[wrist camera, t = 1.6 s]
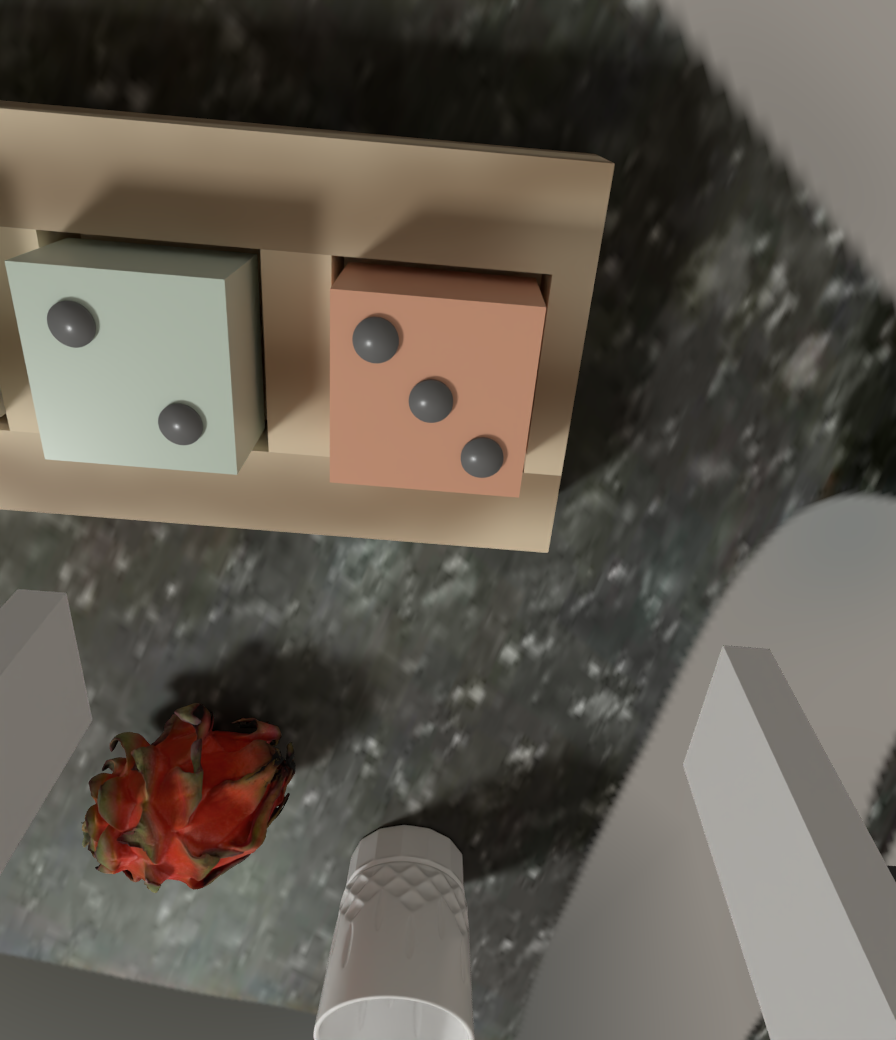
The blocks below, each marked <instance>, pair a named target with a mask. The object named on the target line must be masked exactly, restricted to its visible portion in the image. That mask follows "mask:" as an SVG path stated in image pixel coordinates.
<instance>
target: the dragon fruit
mask: <svg viewBox="0 0 896 1040" xmlns="http://www.w3.org/2000/svg"><path fill="white" fill-rule="evenodd" d="M174 713H175V714H173V715H172V717H171V719H169V720H168V721H167V722H166V724H165V726H164V732H163V733H162V734H161V736H160V737H159V738H158V739H157V740H156V741H155V742H154V743H152V745H150V744H149V743H148V742H147V741H146V740H145V738H144V737H143V736H141V735H140V734H137V733H133V732H126V733H121V734H118V735H117V736H115V737H114V738H113V740H112V741H111V743H110V751H111V752H112V751H113V750H114V748H115V747H116V745H117V743H118V741H120V742H121V745H122V747H123V748H124V749H125V752H126V758H120V757H119V758H114V759H110V760H107V761H106V762H105V764H104V766H103V768H102V771H104V770H106V769H107V768H110V769H111V770H112V771H113V773H112V774H108V773H101V774H98V775H96V776H94V777H93V778H91V780H90V781H89V786H90V791H91V796H92V797H93V798H94V800H95V802H96V804H95V805H93V806H91V807H90V808H89V809H88V811H87V813H86V815H85V821H84V822H83V823H82V822H81V823H82V824H83V826H82V831H83V834H84V839H83V843H82V845H83V847H86V846H87V845H88V844H89V845H88V850H89V851H91V853H92V855H93V857H94V858H96V859H97V861H98V862H99V863H100V865H99V867H95V868H96V869H97V870H98V871H100V872H103V873H107V874H115V873H118V872H120V871H123V872H124V873H125V875H126V876H127V877H128V878H129V879H130V880H131V881H133V882H138V881H140V880H141V879H143V880H144V881H145V883H144V884H145V885H147V888H148V889H150V890H151V891H152V892H154V893H156V892H157V891H158V890H159V888H160V886H161V884H162V883H163V882H164V881H165V880H166V879H173V880H179V881H182V882H184V883H186V884H187V885H188V886H189V887H190V888H192V889H200V888H203V887H205V886H207V885H209V884H210V883H212V882H213V881H214V880H215V879H216V878H217V877H219V876H220V875H222V874H223V873H225V872H226V871H228V870H229V869H231V868H232V867H234V866H235V865H237V864H239V863H241V862H242V861H243V860H245V859H246V858H247V857H248V856H249V855H250V854H251V853H253V852H255V850H256V849H258V848H259V847H260V846H261V845H262V843H263V842H264V840H265V837H266V832H267V830H266V829H267V828H268V827H269V825H270V824H271V823H272V821H273V820H274V819H276V818H277V817H278V815H279V814H280V813H281V811H282V809H283V808H284V806H285V804H286V802H287V800H288V797H289V795H290V794H289V793H288V794H287V795H286V796H285V797H284V794H285V791H286V787H287V784H288V783H289V782H290V780H291V779H292V777H293V776H294V774H295V762H294V760H293V758H294V749H293V746H292V742H290V743H289V744H288V745H287V755H286V760H283V757H282V755H280V754H279V753H281V752H280V751H279V749H278V748H274V747H273V746H276V745H277V744H278V742H279V739H280V738H281V732H280V729H279V727H278V726H275V725H271V724H268V722H266V723H264V722H263V721H262V722H261V721H258V720H257V719H255V718H247V719H245V718H243V717H242V719H239V720H237V721H235V722H231V723H232V724H235V723H239V724H240V722H246V724H243V725H240V726H239V727H240V728H257V730H256V731H255V732H253V733H251V734H248V733H237V732H229V731H212V728H213V723H214V713H213V712H212V716H211V714H210V712H209V711H208V709H207V708H206V707H205V706H204V705H202V704H199V703H193V704H191V705H188V706H185V707H182V708H179V709H177V710H175V711H174ZM283 805H284V806H283ZM277 806H279V807H278V808H276V807H277ZM282 806H283V808H282ZM281 808H282V809H281Z"/></svg>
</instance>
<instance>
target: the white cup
mask: <svg viewBox="0 0 896 1040" xmlns="http://www.w3.org/2000/svg"><path fill="white" fill-rule="evenodd" d="M314 1040H474V1023H473V1002H472V980H471V963H470V941H469V924H468V916H467V902H466V899H465V891H464V879H463V858H462V853H461V852H460V851H459V850H458V848H457V847H456V846H455V845H454V843H453V842H452V841H451V839H449V838H448V837H446V836H444V835H442V834H440V833H438V832H436V831H434V830H432V829H430V828H424V827H418V826H410V825H399V826H392V827H387V828H381V829H378V830H377V831H375V832H373V833H371V834H370V835H368V836H366V837H365V838H363V839H361V841H360V842H359V844H358V846H357V848H356V849H355V851H354V853H353V855H352V858H351V862H350V868H349V873H348V878H347V883H346V888H345V891H344V894H343V897H342V900H341V904H340V908H339V915H338V920H337V923H336V927H335V931H334V935H333V939H332V944H331V949H330V954H329V959H328V964H327V969H326V974H325V979H324V984H323V989H322V994H321V999H320V1003H319V1008H318V1013H317V1018H316V1023H315V1027H314Z"/></svg>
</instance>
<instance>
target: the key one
mask: <svg viewBox="0 0 896 1040" xmlns="http://www.w3.org/2000/svg"><path fill="white" fill-rule="evenodd" d="M4 414H6V410H5V406H4V401H3V397H2V393H1V388H0V417H2V416H3V415H4Z"/></svg>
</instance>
